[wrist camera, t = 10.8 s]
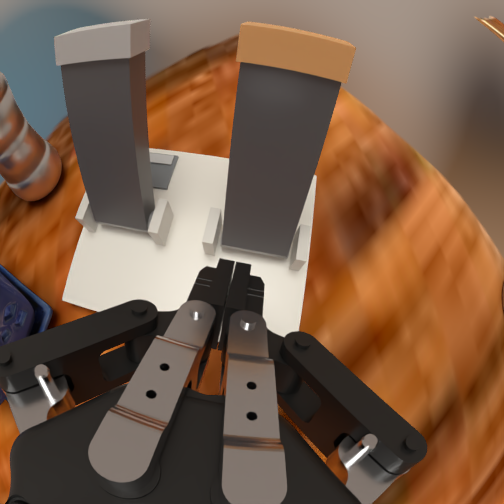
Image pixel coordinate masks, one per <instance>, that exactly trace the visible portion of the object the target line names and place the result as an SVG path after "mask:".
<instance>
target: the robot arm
mask: <svg viewBox="0 0 504 504" xmlns="http://www.w3.org/2000/svg"><path fill="white" fill-rule="evenodd" d="M234 264H235V261H232V260H227V259H222V258H220V259H219V261H218V264H217V267H216V268H214V267H209V266H206V267H204V268H203V269H201V270H200V271H199V274H198V276H197V278H196V280H195V283H194V285H193V287H192V290H191V292H190V294H189V297H188V299H187V301H186V302H185V303H183V304H182V305H181V306H180V308H179V309H177V310H174V311H158V310H157V308H156V306H155V305H154V304H153V303H151V302H149V301H147V300H142V299H136V300H131V301H128V302H125V303H123V304H120V305H117V306H114V307H111V308H108V309H106V310H103V311H100V312H97V313H94V314H91V315H89V316H86V317H83V318H80V319H77V320H74V321H72V322H69V323H66V324H63V325H60V326H57V327H54V328H52V329H49V330H46V331H43V332H40V333H37V334H34V335H32V336H29V337H26V338H23V339H20V340H17V341H14V342H11V343H8V344H6V345H3V346H0V387H1V389H2V390H3V392H4V393H5V395H6V397H7V399H8V402H9V405H10V408H11V411H12V413H13V416H14V419H15V422H16V424H17V427H18V429H19V432H20V435H19V436H18V437H17V439H16V440H15V441H14V444H13V446H12V449H11V453H10V468H11V487H10V494H9V497H8V500H7V502H6V503H5V504H372V503H373V502H374V501H375V500H376V499H377V498H378V497H379V496H380V495H381V494H382V493H383V492H384V491H385V490H386V489H387V488H388V487H389V486H390V485H391V483H392V482H393V481H395V480H396V479H398V478H399V477H401V476H402V475H404V474H405V473H406V472H408V471H409V470H410V469H411V468H412V467H413V466H414V465H416V464H417V463H418V462H420V461H421V460H422V459H423V458H424V457H425V455H426V453H427V443H426V441H425V439H424V437H423V436H422V435H421V434H420V433H419V432H418V431H417V430H416V429H415V428H413V427H412V426H411V425H410V424H409V423H408V422H407V421H406V420H404V419H403V418H402V417H401V416H400V415H399V414H398V413H397V412H395V411H394V410H393V409H392V408H391V407H390V406H389V405H388V404H386V403H385V402H384V401H383V400H382V399H381V398H380V397H379V396H378V395H376V394H375V393H374V392H373V391H372V390H371V389H370V388H369V387H368V386H366V385H365V384H364V383H363V382H362V381H361V380H360V379H359V378H358V377H357V376H355V375H354V374H353V373H352V372H351V371H350V370H349V369H348V368H347V367H346V366H345V365H343V364H342V363H341V362H340V361H339V360H338V359H337V358H336V357H335V356H334V355H333V354H331V353H330V352H329V351H328V350H327V349H326V348H325V347H324V346H323V345H322V344H321V343H320V342H319V341H317V340H316V339H315V338H314V337H313V336H311V335H310V334H307V333H305V332H300V331H294V332H290V333H288V334H287V335H286V336H285V337H282V336H280V335H278V334H275V333H273V332H272V331H270V330H269V329H268V328H267V326H266V321H265V320H264V318H263V303H264V286H265V284H264V282H263V280H262V279H261V277H258V276H253V275H250V271H251V264H246V263H241V262H236V265H235V269H234ZM233 270H234V273H233ZM232 275H233V277H232ZM503 308H504V285H503ZM222 322H223V323H222ZM221 327H222V329H221ZM220 331H221V334H220ZM219 335H220V340H219ZM218 340H219V346H218V350H221V351H222V354H221V362H222V363H221V371H220V382H219V393H218V395H204V394H201V393H199V392H198V391H199V388H200V385H201V382H202V380H203V377H204V374H205V371H206V368H207V366H208V362H209V355H210V351H211V348H212V349H216V348H217V344H218ZM123 343H125V346H122V347H120V348H118V349H115V350H113V351H110V352H108V353H106V354H103V355H101V354H102V353H103V352H104V351H106V350H108V349H111V348H113V347H115V346H118V345H120V344H123ZM100 355H101V356H100ZM129 381H130V382H129ZM304 381H305V382H306V383H307V384H308V385H309V386H310V387H311V388H312V389H313V390H314V391H315V392H316V393H315V392H314V391H313V390H312V389H311V388H310V387H309V386H308V385H307V384H306V383H305V382H304ZM126 382H129V383H128V384H124V383H126ZM122 384H124V385H122ZM120 385H121V386H120ZM100 394H101V395H100ZM98 395H99V396H98ZM96 396H97V397H96ZM94 397H95V398H94ZM92 398H93V399H92ZM89 399H91V400H89ZM87 400H89V401H87ZM85 401H87V402H85ZM82 402H85V403H83V404H81V405H79V406H77V407H75V405H78V404H80V403H82ZM277 403H278V405H279V406H280V407H281V408H282V409H283V410H284V412H285V413H286V414H287V415H288V416H289V417H290V418H291V419H292V421H293V422H294V423H295V424H296V425H297V426H298V427H299V428H300V430H301V431H302V432H303V433H304V434H305V435H306V436H307V437H308V438H309V439H310V440H311V442H312V443H313V444H314V445H315V446H316V447H317V448H318V449H319V450H320V451H321V452H322V453H323V454H324V455H325V456H326V457H327V460H326V464H325V463H324V462H323V461H322V460H321V458H320V457H319V456H318V455H317V454H316V453H315V452H314V450H313V449H312V448H311V447H310V446H309V445H308V443H307V442H306V441H305V440H304V439H303V438H302V436H301V435H300V434H299V433H298V432H297V430H296V429H295V428H294V427H293V426H292V425H291V424H290V423H289V422H288V421H287V420H286V419H285V418H284V417H282V416H281V415H279V414H278V407H277Z"/></svg>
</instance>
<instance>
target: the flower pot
mask: <svg viewBox="0 0 504 504" xmlns="http://www.w3.org/2000/svg"><path fill="white" fill-rule="evenodd" d="M52 312H53V311H52V308H51V307H50V306H49V305H48V304H47V303H46V302H44V301H43V300H42V299H41V298H39V297H38V296H37V295H36V294H34V293H33V292H32V291H31V290H30V289H28V288H27V287H26V286H25V285H24V284H22V283H21V282H20V281H19V280H18V279H17V278H15V277H14V276H13V275H12V274H11V273H10V272H8V271H7V270H6V269H5V268H4V267H3V266H2V265H1V264H0V346H3V345H6V344H8V343H11V342H14V341H17V340H20V339H23V338H26V337H29V336H32V335H34V334H37V333H40V332H43V331H46V330H47V328H48V325H49V323H50V320H51V317H52ZM4 399H6V400H7V401H8V399H7V397H6V395H5V393H4V392H3V390H2V389H1V387H0V405H1V403H2V402H3V401H4Z"/></svg>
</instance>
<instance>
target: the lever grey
mask: <svg viewBox="0 0 504 504" xmlns="http://www.w3.org/2000/svg"><path fill="white" fill-rule="evenodd" d="M54 45H55V56H56V65H57V66H58V65H61V71H62V79H63V87H64V93H65V100H66V106H67V112H68V117H69V123H70V128H71V133H72V138H73V142H74V147H75V151H76V155H77V159H78V164H79V167H80V171H81V175H82V179H83V183H84V186H85V190H86V193H87V197H88V200H89V203H90V207H91V210H92V213H93V216H94V220H95V222H96V223H99V224H105V225H110V226H115V227H121V228H126V229H131V230H137V231H142V232H147V233H148V229H149V225H150V222H151V219H152V216H153V213H154V210H155V202H154V193H153V184H152V175H151V165H150V154H149V141H148V127H147V109H146V82H145V51H146V50H148V49H149V48H150V19H143V20H130V21H121V22H114V23H106V24H100V25H93V26H87V27H83V28H77V29H74V30H71V31H69V32H66V33H63V34H60V35H58V36H56V37H54Z"/></svg>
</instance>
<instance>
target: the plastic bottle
mask: <svg viewBox="0 0 504 504" xmlns="http://www.w3.org/2000/svg"><path fill="white" fill-rule="evenodd" d="M61 170H62V162H61V159H60V157H59V155H58V152H57V151H56V149H55V148H54V147H53V146H52V145H51V144H49V143H48V142H47V141H46V140H44V139H43V138H42V137H41V136H40V135H39V134H38V133H37V132H36V131H35V130H34V129H33V128H32V127H31V126H30V124H28V122H27V120H26V119H25V117H24V116H23V114H22V112H21V110H20V109H19V107H18V105H17V103H16V101H15V99H14V96H13V94H12V92H11V90H10V87H9V85H8V82H7V80H6V78H5V76H4V74H2V73H1V72H0V174H1V176H2V177H3V178H4V179H5V180H6V182H7V184H8V186H9V187H10V188H11V190H12V191H13V192H14V193H15V195H16V196H18V197H20V198H22V199H24V200H26V201H37V200H40V199H42V198H44V197H46V196H47V195H48V194H49V193H50V192H51V191H52V190H53V189H54V188H55V186H56V185H57V183H58V181H59V179H60V176H61Z"/></svg>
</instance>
